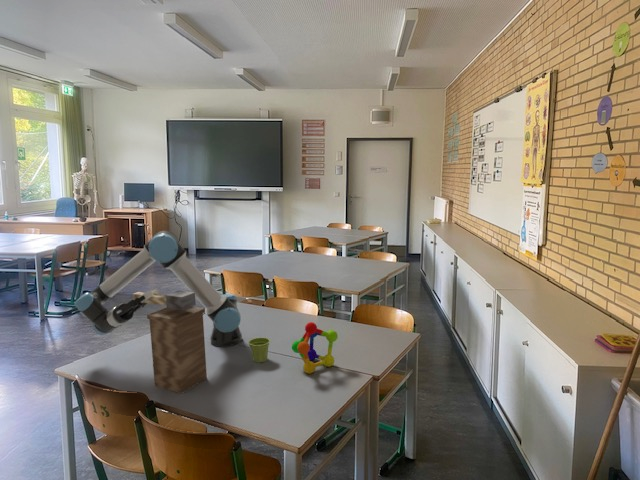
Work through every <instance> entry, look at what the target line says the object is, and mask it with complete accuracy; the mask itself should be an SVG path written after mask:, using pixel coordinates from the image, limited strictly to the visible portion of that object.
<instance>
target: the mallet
mask: <svg viewBox="0 0 640 480" xmlns="http://www.w3.org/2000/svg"><path fill="white" fill-rule="evenodd" d="M144 293H145V292H141V291H137V292H135V293H132V300H135V299H136V298H139V297H140V296H141V295H143V294H144ZM144 303H148V304H150V305H151V304H153V305H159V306H166V308H171V309H178V310H185V309H187V308H190V307H196V305H197V303H196V297H195V292H191V291H186V290H185V291H184V290H176V291H174V292H171V293H167V294H166V295H164V294H159V295H158V294H152V297H151V298H149V299H148V300H146V301H145V302H144Z"/></svg>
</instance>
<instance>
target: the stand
mask: <svg viewBox="0 0 640 480" xmlns="http://www.w3.org/2000/svg"><path fill="white" fill-rule="evenodd" d="M203 313H206V310H205V307H204V308H203V307H197V306H192V307H190V308H187V309H185V310H178V309H171V308H167V307H165V308H162V309H159V310H157V311H154V312H151V313H149V314H147V316H146V317H147V319H148V320H149V329H150V341H151V354H152V355H151V356H152V366H153V367H152V368H153V379H154V380H153V381H154V387H156V388H160V389H164V390H168V391H173V392H176V393H178V394H179V393H180V394H183V392H184V393H185V392H187V391H188V390H190V389H192V388H193V387H195V386H196V385H198V384H200V383H201V382H203V381H204V380H206V379H207V378H208V377H207V376H208V375H207V373H208V372H207V361H206V359H207V358H206V347H205V346H206V345H205V343H206V341H205V329H204V328H205V327H204V314H203ZM199 382H200V383H199ZM197 383H198V384H197ZM194 385H195V386H194ZM192 386H193V387H192ZM191 387H192V388H191ZM189 388H190V389H189ZM186 390H187V391H186Z"/></svg>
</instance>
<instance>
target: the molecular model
mask: <svg viewBox="0 0 640 480" xmlns="http://www.w3.org/2000/svg"><path fill="white" fill-rule="evenodd" d="M304 330H305V333H304V334H303V336H302V337H301V338H300V340H296V341H294V342H293V343H292V344H291V349H292V351H293V352H294V353H296V354H299V356H300V358H301V359H302V361H303V363H304V364H303V370H304V372H305V373H306V374H307V375H308V374H309V375H310V374H313V373H314V372H315V370H316V368H317V367H321V366H323V365H324V366H326V367H329V368H330V367H332V366H334V364H335V358H334V356H333V355H332V353H333V352H332V351H333V345H334V342H336V341H337V339H338V333H337V331H336V330H334V329H330V330H328V331H325V330H322V329H320V328H318V326H317V324H316V323H314V322H311V321H310V322H308V323H306V325H305V327H304ZM317 336H320V337H324V338H326V340H327V341H328V347H327V354H326V355H324V356H323V355H320V354H317V351H316V350H315V349H314V341H315V340H314V339H315V338H316V337H317ZM315 359H317V360H320V361H318V362H314V360H315Z"/></svg>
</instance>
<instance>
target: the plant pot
mask: <svg viewBox="0 0 640 480" xmlns="http://www.w3.org/2000/svg"><path fill="white" fill-rule="evenodd" d="M270 343H271V340H270V339H269V338H267V337H255V338H252V339H249V340H248V345H249V347H250V350H251V354H252V355H251V356H252V361H253V362H255V363H262V362H263V363H264V362H267V360H268V357H269V356H268V354H269V345H270Z"/></svg>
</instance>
